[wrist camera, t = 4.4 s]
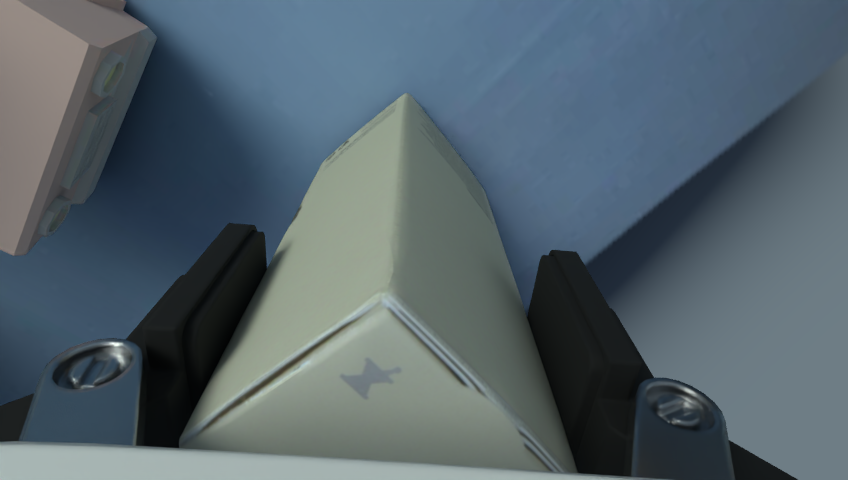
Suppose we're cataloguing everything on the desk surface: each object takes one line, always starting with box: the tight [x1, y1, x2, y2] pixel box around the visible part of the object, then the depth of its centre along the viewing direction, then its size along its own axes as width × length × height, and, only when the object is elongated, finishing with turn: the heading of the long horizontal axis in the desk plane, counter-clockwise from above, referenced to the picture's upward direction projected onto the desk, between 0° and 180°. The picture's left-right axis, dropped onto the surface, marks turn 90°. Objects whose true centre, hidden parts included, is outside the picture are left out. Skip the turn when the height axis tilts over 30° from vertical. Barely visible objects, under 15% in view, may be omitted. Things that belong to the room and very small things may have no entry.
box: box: [179, 93, 578, 473], centre depth 13 cm, size 5×4×13 cm
